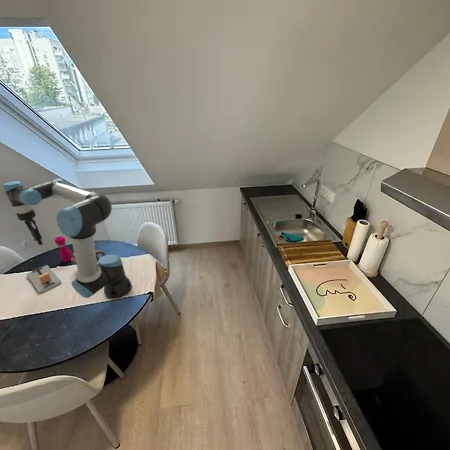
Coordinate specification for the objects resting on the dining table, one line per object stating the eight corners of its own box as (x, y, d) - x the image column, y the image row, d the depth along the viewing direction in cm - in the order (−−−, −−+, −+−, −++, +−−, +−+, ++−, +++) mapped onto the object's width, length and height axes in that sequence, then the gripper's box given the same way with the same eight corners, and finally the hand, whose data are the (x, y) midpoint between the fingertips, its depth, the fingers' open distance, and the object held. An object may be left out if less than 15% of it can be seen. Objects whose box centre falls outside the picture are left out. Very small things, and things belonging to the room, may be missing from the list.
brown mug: (107, 258, 176) (102, 242, 169) (108, 268, 166) (102, 251, 159) (75, 266, 169) (69, 249, 162) (74, 277, 159) (67, 259, 152)
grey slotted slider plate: (61, 283, 154) (60, 280, 153) (39, 294, 147) (38, 290, 145) (48, 267, 168) (46, 264, 167) (27, 276, 160) (25, 273, 159)
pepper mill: (68, 263, 172) (58, 238, 162) (59, 261, 173) (49, 237, 163) (76, 256, 178) (66, 232, 168) (67, 255, 179) (57, 232, 169)
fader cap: (51, 279, 154) (48, 273, 152) (42, 284, 151) (39, 277, 148) (49, 278, 155) (47, 271, 153) (40, 282, 152) (37, 276, 150)
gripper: (36, 211, 129) (53, 249, 140) (29, 205, 136) (46, 242, 148) (19, 217, 124) (38, 255, 135) (12, 210, 132) (31, 247, 143)
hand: (42, 248), depth 142 cm, fingers closed
